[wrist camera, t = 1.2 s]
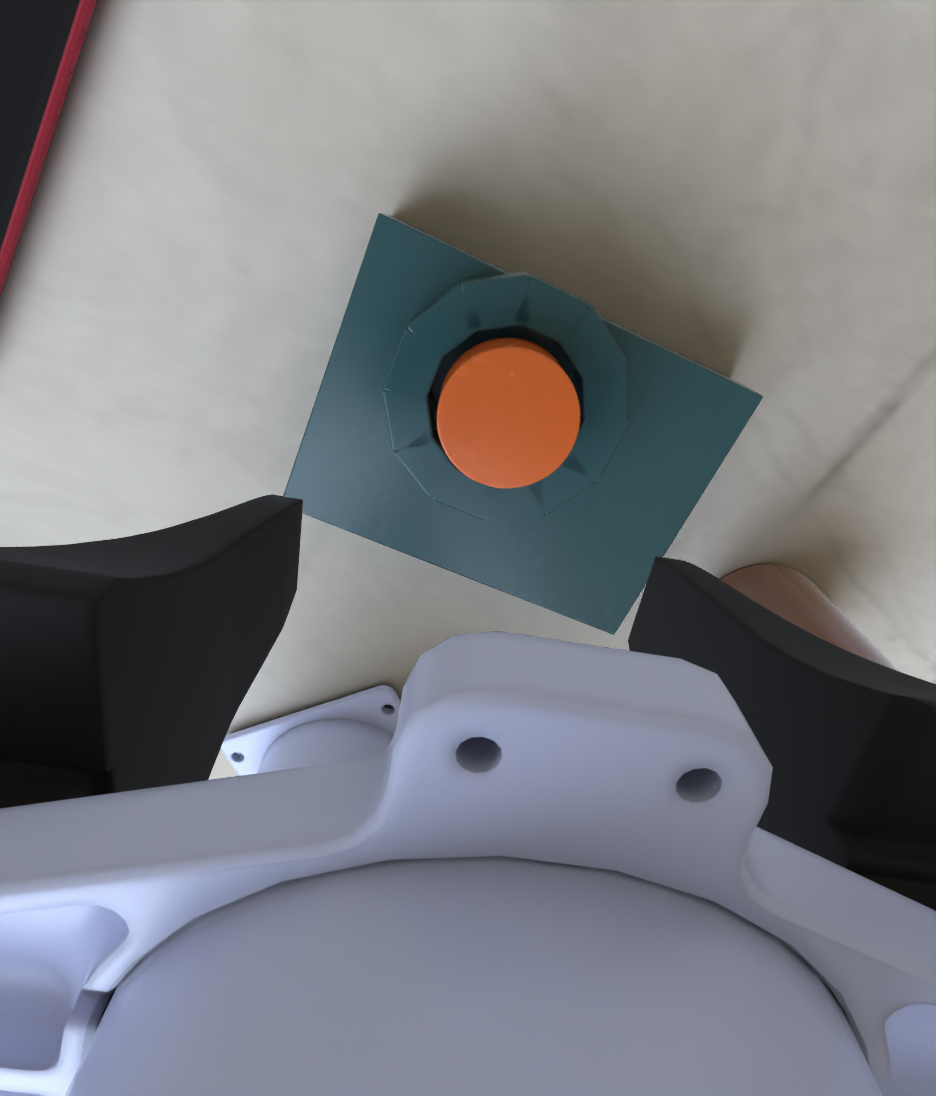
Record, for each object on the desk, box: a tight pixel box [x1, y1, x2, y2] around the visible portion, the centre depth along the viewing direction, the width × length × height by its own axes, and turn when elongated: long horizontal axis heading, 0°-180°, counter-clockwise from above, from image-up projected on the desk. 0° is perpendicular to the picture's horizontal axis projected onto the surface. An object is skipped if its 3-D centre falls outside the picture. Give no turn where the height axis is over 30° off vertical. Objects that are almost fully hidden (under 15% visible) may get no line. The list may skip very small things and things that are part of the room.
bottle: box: [720, 564, 900, 672], centre depth 21 cm, size 5×5×10 cm
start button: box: [437, 337, 580, 488], centre depth 17 cm, size 4×4×2 cm
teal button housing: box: [283, 213, 763, 635], centre depth 20 cm, size 12×9×4 cm
